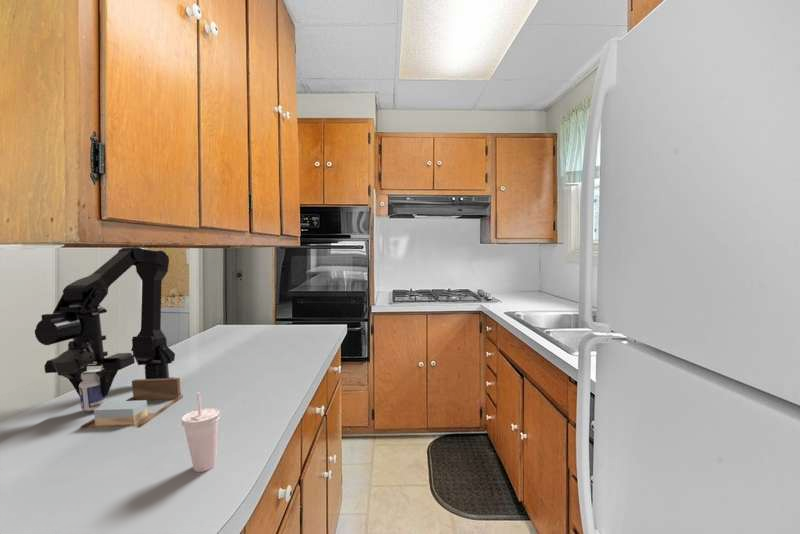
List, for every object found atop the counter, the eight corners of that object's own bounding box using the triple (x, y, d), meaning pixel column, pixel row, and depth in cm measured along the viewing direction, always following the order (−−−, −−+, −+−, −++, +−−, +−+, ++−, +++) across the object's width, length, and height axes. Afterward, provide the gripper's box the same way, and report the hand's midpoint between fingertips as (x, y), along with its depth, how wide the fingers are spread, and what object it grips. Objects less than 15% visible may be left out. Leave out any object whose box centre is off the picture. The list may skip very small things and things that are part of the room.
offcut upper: (110, 408, 101) (109, 401, 101) (147, 407, 101) (146, 400, 100) (94, 417, 96) (93, 410, 96) (133, 416, 96) (132, 408, 95)
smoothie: (181, 478, 74) (175, 400, 73) (189, 460, 80) (183, 388, 79) (221, 471, 76) (215, 395, 75) (225, 454, 82) (220, 383, 81)
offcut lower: (111, 416, 101) (110, 408, 101) (148, 415, 101) (147, 407, 101) (95, 425, 96) (94, 417, 96) (134, 424, 96) (133, 416, 96)
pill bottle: (112, 402, 108) (108, 367, 107) (98, 410, 103) (94, 374, 102) (91, 403, 108) (87, 369, 107) (76, 411, 102) (72, 375, 102)
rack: (133, 401, 113) (131, 379, 112) (184, 400, 112) (182, 377, 112) (81, 432, 95) (78, 406, 95) (141, 430, 94) (139, 404, 94)
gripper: (19, 344, 96) (27, 411, 97) (100, 341, 96) (107, 408, 97) (60, 333, 107) (67, 393, 108) (132, 330, 107) (138, 390, 108)
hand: (93, 396), depth 105 cm, fingers closed on pill bottle, 5 cm apart
